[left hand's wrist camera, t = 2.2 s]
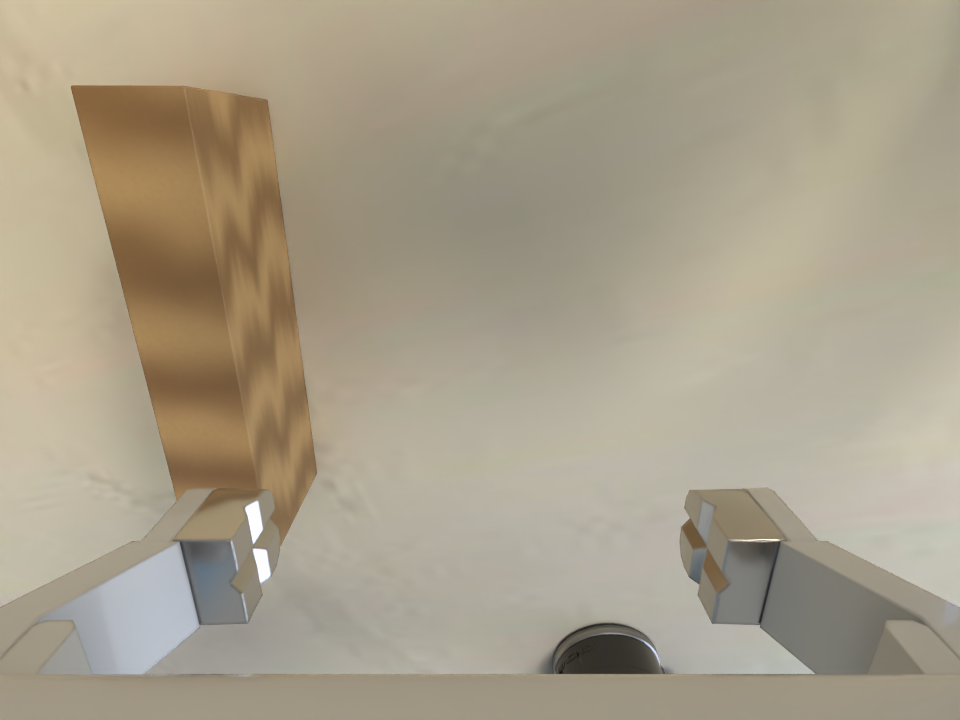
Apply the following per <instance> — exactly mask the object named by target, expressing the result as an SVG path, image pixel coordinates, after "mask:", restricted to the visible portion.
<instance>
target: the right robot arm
mask: <svg viewBox="0 0 960 720" xmlns="http://www.w3.org/2000/svg"><path fill="white" fill-rule="evenodd" d="M552 665H553V674H665V672H664V669H663V668H662V667H661V666H660V660H659V657H658V654H657V651H656V649H655V647H654V645H653V643H652V642H651V641H650V640H649V639H648V638H647V637H646V636H645V635H643V634H642V633H640V632H638V631H636V630H634V629H631V628H628V627H624V626H619V625H599V626H594V627H589V628H586V629H583V630H581V631H578V632H576V633H575V634H573V635H571V636H570V637H568V638H567V639H566V640H565V641H564V642H563V643H562V644H561V645H560V646H559V647H558V649H557V650H556V652H555V655H554V657H553V664H552Z"/></svg>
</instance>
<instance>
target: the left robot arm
mask: <svg viewBox="0 0 960 720" xmlns="http://www.w3.org/2000/svg"><path fill="white" fill-rule="evenodd" d="M274 510H275V503H274V498H273V493H272V492H271V491H269V490H268V489H234V488H218V489H216V488H192V489H189V490H186V491H185V492H184V494H183V495H182V496H181V497H180V498H179V499H178V500H177V501H176V503H175V504H174V505H173V506H172V507H171V508H170V509H169V510H168V512H167V513H166V514H165V515H164V516H163V517H162V518H161V519H160V521H159V522H158V523H157V524H156V525H155V526H154V527H153V528H152V530H151V531H150V532H149V533H148V534H147V535H146V536H145V537H144V539H143V540H142V541H132V542H130V543H128V544H126V545H124V546H122V547H120V548H118V549H116V550H114V551H112V552H110V553H108V554H106V555H104V556H102V557H100V558H98V559H96V560H94V561H92V562H90V563H88V564H86V565H84V566H82V567H80V568H78V569H76V570H74V571H72V572H70V573H68V574H66V575H64V576H62V577H60V578H58V579H56V580H54V581H52V582H50V583H48V584H46V585H44V586H42V587H40V588H38V589H36V590H34V591H32V592H30V593H28V594H26V595H24V596H22V597H20V598H18V599H16V600H14V601H12V602H10V603H8V604H6V605H4V606H2V607H0V720H960V607H958V606H956V605H954V604H952V603H950V602H948V601H946V600H944V599H942V598H940V597H938V596H936V595H934V594H932V593H930V592H928V591H926V590H924V589H922V588H920V587H918V586H916V585H914V584H912V583H910V582H908V581H906V580H904V579H902V578H900V577H898V576H896V575H894V574H892V573H890V572H888V571H886V570H884V569H882V568H880V567H878V566H876V565H874V564H872V563H870V562H868V561H866V560H864V559H862V558H860V557H858V556H856V555H854V554H852V553H850V552H848V551H846V550H844V549H842V548H840V547H838V546H836V545H834V544H832V543H830V542H828V541H818V540H817V539H816V538H815V536H814V535H813V534H812V533H811V532H810V531H809V530H808V529H807V527H806V526H805V525H804V524H803V523H802V522H801V521H800V520H799V518H798V517H797V516H796V515H795V514H794V513H793V512H792V511H791V509H790V508H789V507H788V506H787V505H786V504H785V503H784V502H783V500H782V499H781V498H780V497H779V496H778V495H777V494H776V493H775V491H773V490H771V489H769V488H744V489H716V490H689V493H688V495H687V497H686V502H685V510H686V512H687V513H688V515H689V517H690V519H689V520H688V521H687V522H686V523H685V524H684V525H683V526H682V527H681V534H680V552H681V558H682V562H683V565H684V568H685V570H686V572H687V574H688V576H689V577H690V578H691V579H692V580H694V581H695V582H697V583H698V584H700V585H699V590H698V597H699V598H700V600H701V602H702V604H703V606H704V608H705V610H706V612H707V614H708V616H709V618H710V620H711V622H712V624H745V625H760V628H762V629H763V630H764V631H765V632H766V633H768V634H769V635H770V636H771V637H772V638H773V639H775V640H776V641H777V642H778V643H779V644H781V645H782V646H783V647H784V648H785V649H787V650H788V651H789V652H790V653H791V654H793V655H794V656H795V657H796V658H797V659H799V660H800V661H801V662H802V663H803V664H805V665H806V666H807V667H808V668H809V669H810V670H812V671H813V672H814V673H815V674H145V673H146V672H147V671H148V670H150V669H151V668H152V667H153V666H154V665H156V664H157V663H158V662H159V661H160V660H162V659H163V658H164V657H165V656H166V655H168V654H169V653H170V652H171V651H172V650H174V649H175V648H176V647H177V646H178V645H180V644H181V643H182V642H183V641H184V640H186V639H187V638H188V637H189V636H190V635H191V634H193V633H194V632H195V631H196V630H197V629H199V628H200V625H214V624H248V622H249V620H250V618H251V616H252V614H253V612H254V610H255V608H256V606H257V604H258V602H259V600H260V598H261V596H262V591H261V585H260V584H262V583H263V582H265V581H266V580H268V579H269V578H270V577H271V576H272V574H273V572H274V570H275V568H276V566H277V561H278V557H279V552H280V533H279V527H278V526H277V525H276V524H275V523H274V522H273V521H272V520H271V519H270V517H271V515H272V513H273V512H274Z"/></svg>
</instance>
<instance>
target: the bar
mask: <svg viewBox="0 0 960 720" xmlns="http://www.w3.org/2000/svg"><path fill="white" fill-rule="evenodd" d="M71 90H72V94H73V97H74V101H75V105H76V109H77V113H78V117H79V121H80V125H81V129H82V133H83V136H84V140H85V144H86V148H87V152H88V156H89V160H90V164H91V168H92V172H93V175H94V179H95V183H96V187H97V191H98V195H99V199H100V203H101V207H102V210H103V214H104V218H105V222H106V226H107V230H108V234H109V238H110V242H111V246H112V249H113V253H114V257H115V261H116V265H117V269H118V273H119V277H120V281H121V285H122V288H123V292H124V296H125V300H126V304H127V308H128V312H129V316H130V320H131V323H132V327H133V331H134V335H135V339H136V343H137V347H138V351H139V355H140V359H141V362H142V366H143V370H144V374H145V378H146V382H147V386H148V390H149V394H150V398H151V401H152V405H153V409H154V413H155V417H156V421H157V425H158V429H159V433H160V436H161V440H162V444H163V448H164V452H165V456H166V460H167V464H168V468H169V472H170V475H171V479H172V483H173V487H174V491H175V495H176V499H177V500H178V499H179V498H180V497H181V496H182V495H183V494H184V492H185V491H186V490H189V489H192V488H216V489H218V488H234V489H268V490H269V491H271V492H272V493H273V498H274V503H275V510H274V512H273V513H272V515H271V517H270V519H271V520H272V521H273V522H274V523H275V524H276V525H277V526H278V527H279V533H280V546H281V544H282V542H283V540H284V538H285V536H286V534H287V532H288V530H289V528H290V526H291V524H292V522H293V520H294V518H295V516H296V514H297V512H298V510H299V508H300V506H301V504H302V502H303V500H304V498H305V496H306V494H307V492H308V490H309V488H310V486H311V484H312V482H313V480H314V478H315V476H316V474H317V471H316V463H315V456H314V448H313V441H312V433H311V425H310V418H309V410H308V403H307V395H306V388H305V380H304V373H303V365H302V358H301V350H300V343H299V335H298V327H297V320H296V312H295V305H294V297H293V290H292V282H291V275H290V267H289V260H288V252H287V245H286V237H285V229H284V222H283V214H282V207H281V199H280V192H279V184H278V177H277V169H276V162H275V154H274V147H273V139H272V131H271V124H270V116H269V109H268V101H267V100H265V99H259V98H253V97H247V96H241V95H235V94H229V93H223V92H217V91H211V90H205V89H199V88H193V87H187V86H71Z"/></svg>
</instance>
